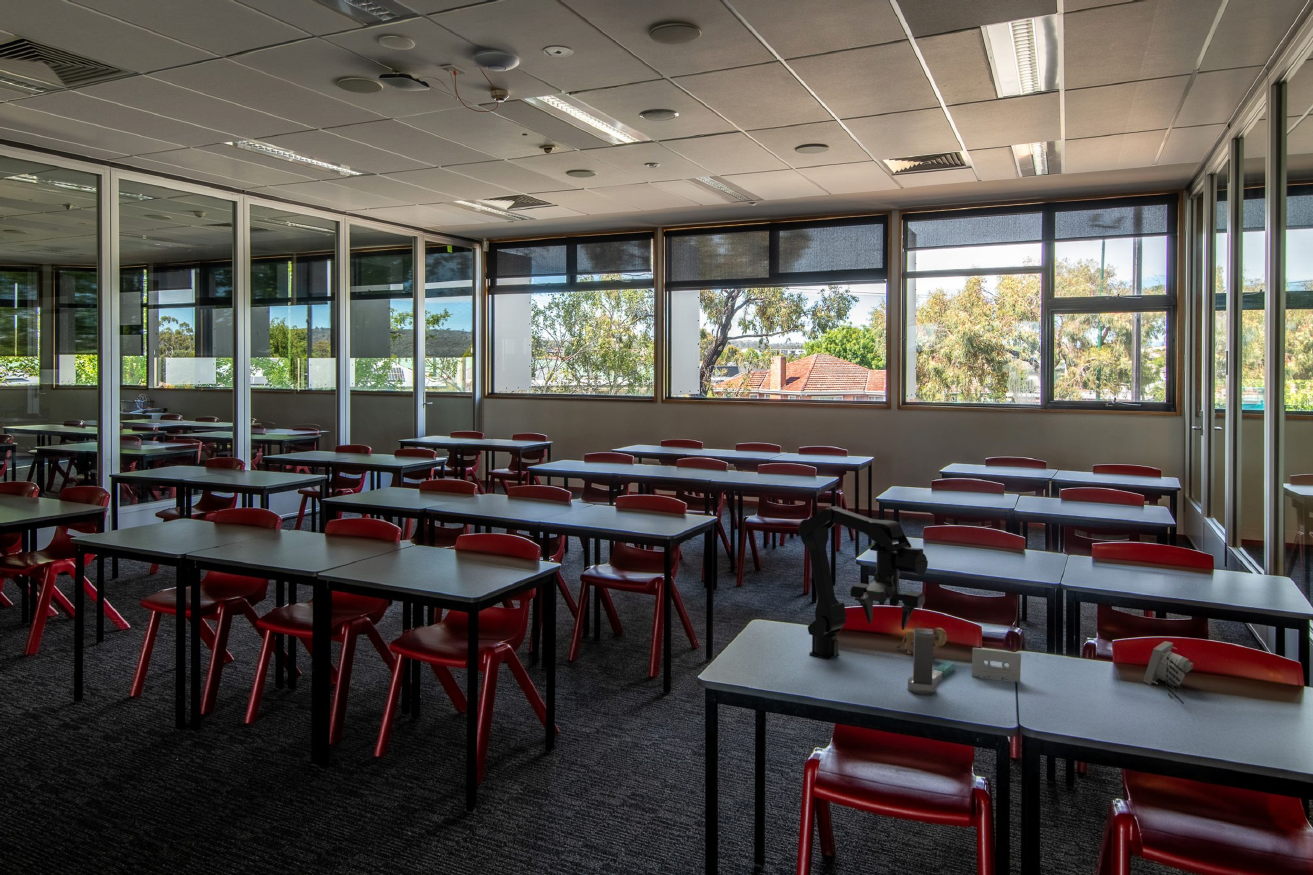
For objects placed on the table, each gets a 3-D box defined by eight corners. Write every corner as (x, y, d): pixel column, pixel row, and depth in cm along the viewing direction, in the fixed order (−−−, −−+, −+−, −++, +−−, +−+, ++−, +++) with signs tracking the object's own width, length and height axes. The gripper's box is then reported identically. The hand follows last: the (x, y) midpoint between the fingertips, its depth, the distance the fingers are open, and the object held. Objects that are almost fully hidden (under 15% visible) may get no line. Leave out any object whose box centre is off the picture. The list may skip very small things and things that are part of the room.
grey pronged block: (1132, 673, 225) (1134, 637, 224) (1179, 676, 223) (1181, 640, 222) (1171, 711, 199) (1173, 671, 199) (1224, 715, 197) (1227, 675, 196)
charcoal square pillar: (913, 683, 209) (915, 632, 208) (912, 677, 214) (914, 627, 213) (931, 684, 208) (933, 634, 207) (930, 678, 213) (932, 629, 212)
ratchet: (903, 691, 211) (903, 672, 210) (936, 666, 229) (937, 648, 229) (930, 698, 206) (931, 678, 206) (962, 671, 225) (963, 653, 225)
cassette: (1019, 680, 219) (1021, 652, 218) (1020, 683, 217) (1021, 654, 217) (971, 674, 223) (972, 646, 223) (971, 676, 221) (972, 648, 221)
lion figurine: (949, 658, 236) (950, 627, 235) (941, 663, 232) (942, 631, 231) (899, 647, 245) (900, 617, 245) (892, 651, 241) (893, 621, 241)
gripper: (841, 569, 220) (840, 627, 221) (910, 579, 208) (908, 640, 209) (859, 562, 229) (858, 617, 230) (926, 571, 217) (925, 630, 218)
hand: (886, 626), depth 221 cm, fingers open, 9 cm apart
